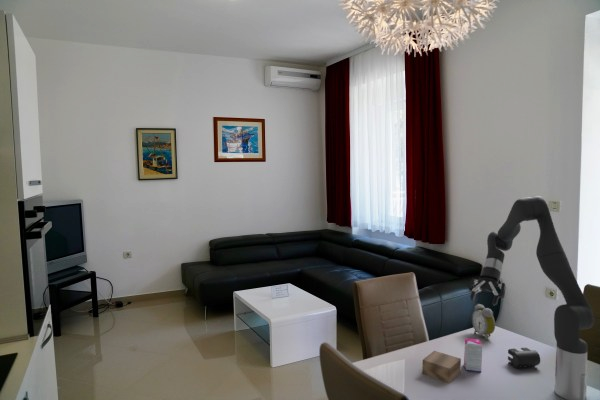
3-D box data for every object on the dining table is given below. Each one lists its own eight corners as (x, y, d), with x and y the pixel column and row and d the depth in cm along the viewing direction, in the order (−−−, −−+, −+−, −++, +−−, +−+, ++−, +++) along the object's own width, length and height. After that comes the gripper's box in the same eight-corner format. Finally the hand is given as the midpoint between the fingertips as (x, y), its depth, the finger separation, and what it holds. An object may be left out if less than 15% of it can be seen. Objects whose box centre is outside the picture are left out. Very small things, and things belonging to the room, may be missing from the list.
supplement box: (481, 372, 163) (482, 344, 162) (466, 371, 164) (466, 343, 164) (478, 365, 169) (479, 339, 168) (463, 364, 170) (464, 337, 169)
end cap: (518, 371, 164) (518, 355, 164) (506, 363, 171) (507, 347, 171) (540, 369, 166) (541, 353, 166) (527, 361, 173) (528, 345, 173)
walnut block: (460, 373, 164) (460, 358, 163) (449, 383, 155) (449, 368, 155) (434, 364, 171) (434, 350, 170) (422, 374, 163) (422, 359, 162)
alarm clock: (470, 332, 204) (471, 302, 203) (483, 331, 205) (483, 302, 204) (485, 341, 193) (486, 310, 192) (498, 340, 194) (499, 309, 193)
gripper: (473, 263, 183) (463, 294, 176) (507, 268, 174) (499, 301, 166) (476, 272, 188) (467, 303, 180) (510, 278, 179) (502, 310, 171)
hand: (482, 302), depth 173 cm, fingers open, 8 cm apart
